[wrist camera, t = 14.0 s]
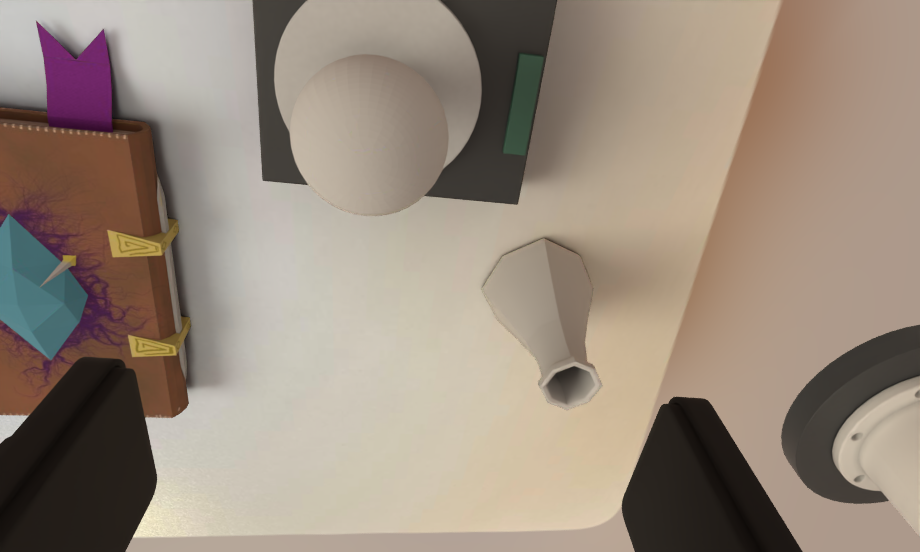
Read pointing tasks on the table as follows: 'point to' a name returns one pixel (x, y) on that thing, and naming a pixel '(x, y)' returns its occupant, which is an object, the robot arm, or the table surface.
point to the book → (85, 242)
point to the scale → (434, 58)
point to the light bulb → (369, 135)
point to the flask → (548, 316)
